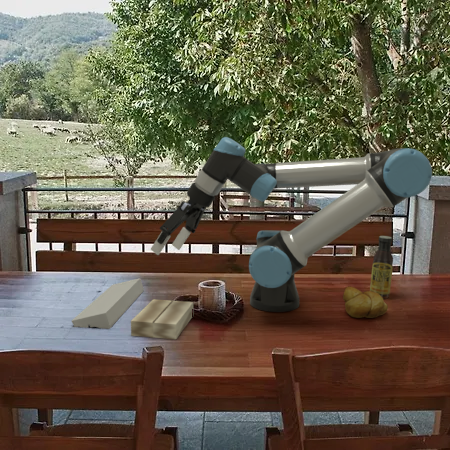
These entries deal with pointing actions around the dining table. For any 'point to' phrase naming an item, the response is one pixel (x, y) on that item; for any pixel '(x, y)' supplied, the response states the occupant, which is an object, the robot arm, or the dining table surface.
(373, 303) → the bread roll
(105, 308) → the decorative molding
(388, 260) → the sauce bottle
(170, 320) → the floorboards
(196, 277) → the dining table surface
